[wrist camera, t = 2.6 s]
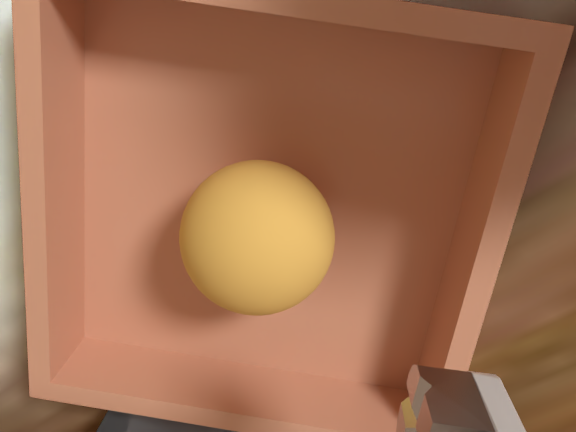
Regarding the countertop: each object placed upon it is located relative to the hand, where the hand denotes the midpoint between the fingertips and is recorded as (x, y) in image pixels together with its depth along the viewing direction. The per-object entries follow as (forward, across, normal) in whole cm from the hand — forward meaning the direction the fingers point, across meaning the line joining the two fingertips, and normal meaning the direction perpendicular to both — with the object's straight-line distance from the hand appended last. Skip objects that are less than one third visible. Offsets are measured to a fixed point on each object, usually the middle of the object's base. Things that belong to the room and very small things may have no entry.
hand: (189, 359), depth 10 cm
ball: (+6, -1, 0) cm, 6 cm away
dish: (+9, -1, 0) cm, 9 cm away
